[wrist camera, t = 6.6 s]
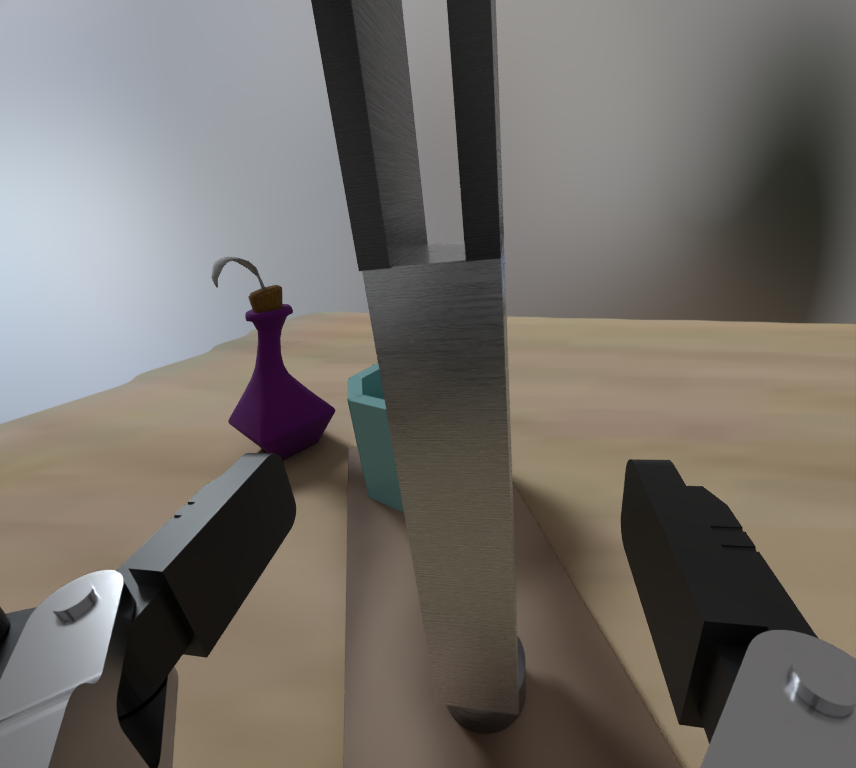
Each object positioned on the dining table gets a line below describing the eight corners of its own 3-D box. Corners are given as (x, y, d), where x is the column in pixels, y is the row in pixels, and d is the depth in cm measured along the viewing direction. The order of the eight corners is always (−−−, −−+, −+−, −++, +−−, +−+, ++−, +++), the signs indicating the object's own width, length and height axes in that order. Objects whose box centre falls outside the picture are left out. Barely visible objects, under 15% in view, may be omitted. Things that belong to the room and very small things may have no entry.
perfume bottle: (304, 418, 45) (258, 248, 38) (343, 438, 40) (299, 247, 33) (237, 450, 41) (171, 263, 33) (272, 477, 36) (202, 264, 28)
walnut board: (347, 943, 12) (340, 931, 12) (350, 457, 37) (348, 448, 37) (705, 829, 14) (709, 815, 13) (479, 433, 38) (478, 424, 38)
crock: (369, 522, 28) (346, 418, 24) (365, 451, 36) (348, 366, 33) (498, 495, 29) (492, 392, 25) (465, 432, 37) (458, 348, 34)
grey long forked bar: (433, 738, 16) (272, -117, 6) (448, 631, 20) (362, -1, 10) (528, 753, 15) (504, -189, 6) (524, 639, 19) (507, -35, 10)
